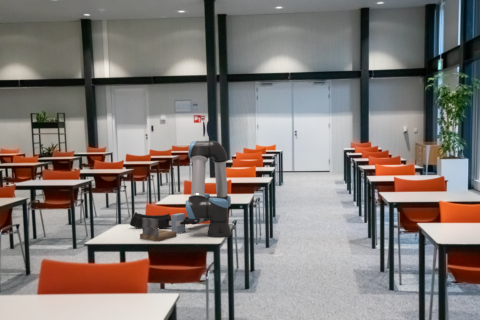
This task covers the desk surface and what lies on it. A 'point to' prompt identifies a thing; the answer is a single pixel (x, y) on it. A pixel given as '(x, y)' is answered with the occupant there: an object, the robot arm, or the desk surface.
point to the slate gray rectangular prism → (175, 219)
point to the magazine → (162, 219)
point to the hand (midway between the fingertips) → (172, 223)
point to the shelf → (154, 231)
